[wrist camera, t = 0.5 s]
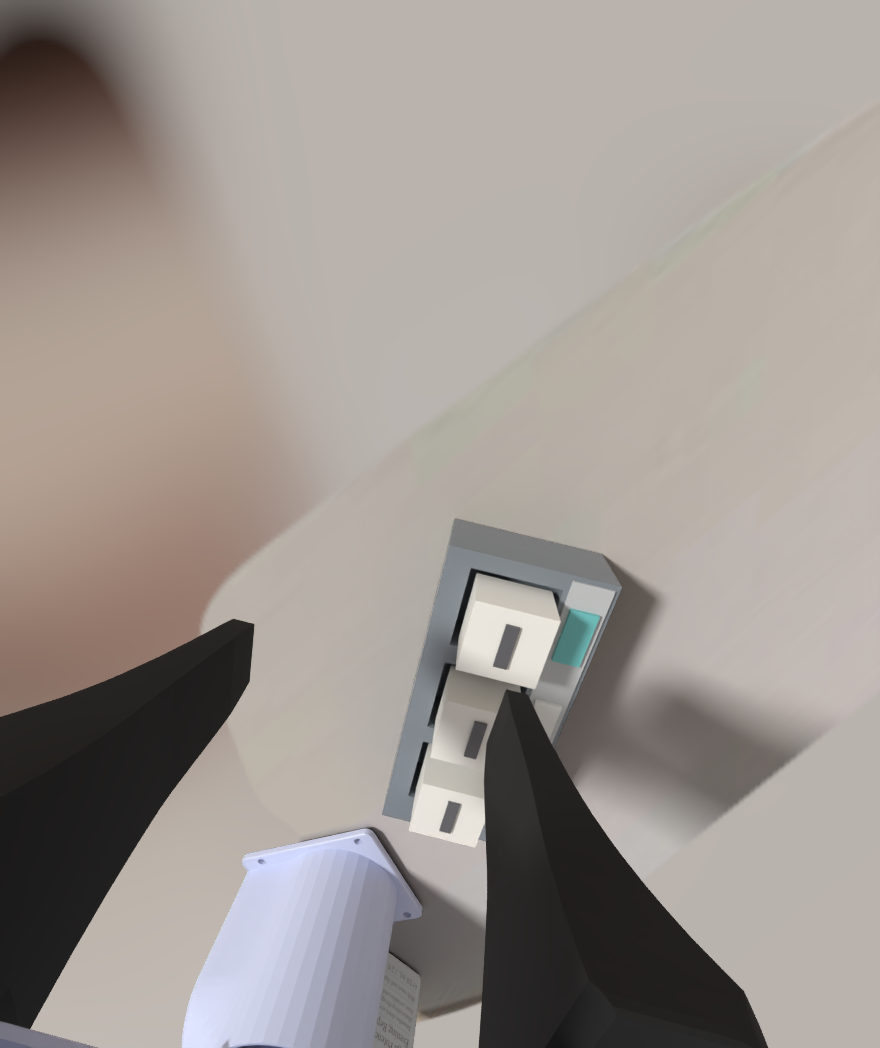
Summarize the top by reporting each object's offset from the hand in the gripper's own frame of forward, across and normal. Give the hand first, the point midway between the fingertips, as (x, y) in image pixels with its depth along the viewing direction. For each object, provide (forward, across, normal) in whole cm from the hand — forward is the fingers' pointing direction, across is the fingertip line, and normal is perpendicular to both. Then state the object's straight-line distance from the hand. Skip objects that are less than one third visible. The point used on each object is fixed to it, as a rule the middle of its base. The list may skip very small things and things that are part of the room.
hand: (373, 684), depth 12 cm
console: (+8, -4, +5) cm, 11 cm away
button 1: (+6, -4, +9) cm, 12 cm away
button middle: (+6, -4, +5) cm, 8 cm away
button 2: (+6, -4, 0) cm, 7 cm away
